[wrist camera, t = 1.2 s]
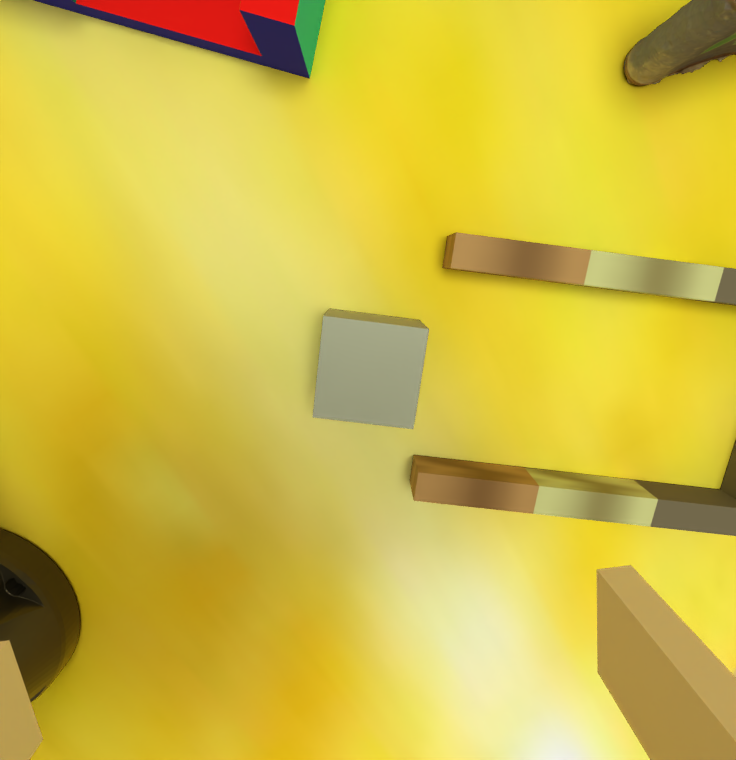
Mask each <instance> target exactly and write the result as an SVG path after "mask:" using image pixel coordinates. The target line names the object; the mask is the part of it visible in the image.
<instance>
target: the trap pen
mask: <svg viewBox="0 0 736 760" xmlns="http://www.w3.org/2000/svg"><path fill="white" fill-rule="evenodd" d="M690 300H693V299H690ZM698 301H703V300H698ZM706 302H714V303H721V304H729V305H736V269H732V268H724V270H723V273H722V277H721V280H720V284H719V287H718V291H717V294H716V298H715V301H706ZM634 481H635V482H637V483H638V484H639V485H641V486H642V487H643V488H644V489H646V490H647V491H648V492H649V493H651V494H652V495H653V496H655V497H656V498H657V499H658V501H657V505H656V508H655V512H654V515H653V519H652V523H651V526H650V527H659V528H668V529H678V530H687V531H696V532H705V533H714V534H723V535H732V536H736V441H735V445H734V448H733V451H732V454H731V457H730V460H729V464H728V467H727V470H726V473H725V476H724V479H723V483H722V486H721V489H711V488H702V487H693V486H684V485H676V484H667V483H658V482H649V481H640V480H634Z"/></svg>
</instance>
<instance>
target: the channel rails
mask: <svg viewBox="0 0 736 760" xmlns="http://www.w3.org/2000/svg"><path fill="white" fill-rule="evenodd" d="M443 268H447V269H455V270H462V271H470V272H478V273H486V274H494V275H502V276H509V277H517V278H525V279H533V280H541V281H549V282H557V283H564V284H572V285H580V286H588V287H596V288H604V289H611V290H619V291H627V292H635V293H643V294H651V295H659V296H666V297H674V298H682V299H693V300H703V301H715V298H716V294H717V291H718V287H719V284H720V280H721V277H722V273H723V270H724V267H717V266H709V265H701V264H694V263H686V262H678V261H671V260H663V259H655V258H648V257H640V256H632V255H625V254H617V253H609V252H602V251H594V250H586V249H578V248H571V247H563V246H555V245H548V244H540V243H532V242H525V241H517V240H509V239H502V238H494V237H486V236H479V235H471V234H463V233H454V234H451V235H449V236H447V242H446V249H445V255H444V262H443ZM410 485H411V489H412V494H413V499H414V501H423V502H432V503H441V504H450V505H459V506H468V507H477V508H486V509H496V510H505V511H514V512H523V513H532V514H541V515H550V516H559V517H568V518H577V519H587V520H596V521H605V522H614V523H623V524H632V525H641V526H651V523H652V519H653V515H654V512H655V508H656V505H657V501H658V499H657V498H656V497H655V496H653V495H652V494H651V493H649V492H648V491H647V490H646V489H644V488H643V487H642V486H641V485H639V484H638V483H637V482H635V481H634V480H631V479H623V478H614V477H605V476H596V475H587V474H578V473H570V472H561V471H552V470H543V469H534V468H526V467H517V466H508V465H499V464H490V463H481V462H473V461H464V460H455V459H446V458H437V457H428V456H420V455H414V456H413V462H412V469H411V475H410Z"/></svg>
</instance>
